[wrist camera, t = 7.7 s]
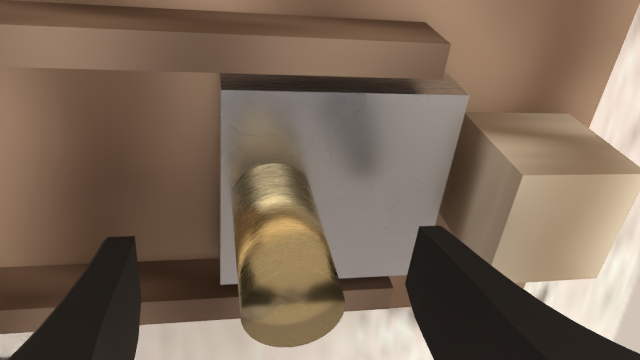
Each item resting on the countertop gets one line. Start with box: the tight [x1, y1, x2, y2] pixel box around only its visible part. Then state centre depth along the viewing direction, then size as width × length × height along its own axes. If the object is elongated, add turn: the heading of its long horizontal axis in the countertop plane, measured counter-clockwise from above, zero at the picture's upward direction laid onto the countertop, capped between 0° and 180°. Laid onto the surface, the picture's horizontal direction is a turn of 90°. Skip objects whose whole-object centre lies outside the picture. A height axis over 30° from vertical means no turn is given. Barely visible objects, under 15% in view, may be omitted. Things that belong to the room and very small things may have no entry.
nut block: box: [439, 112, 640, 283], centre depth 18 cm, size 4×4×4 cm
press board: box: [0, 0, 640, 334], centre depth 17 cm, size 22×14×4 cm, turn 84°
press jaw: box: [219, 73, 470, 347], centre depth 15 cm, size 7×7×6 cm
